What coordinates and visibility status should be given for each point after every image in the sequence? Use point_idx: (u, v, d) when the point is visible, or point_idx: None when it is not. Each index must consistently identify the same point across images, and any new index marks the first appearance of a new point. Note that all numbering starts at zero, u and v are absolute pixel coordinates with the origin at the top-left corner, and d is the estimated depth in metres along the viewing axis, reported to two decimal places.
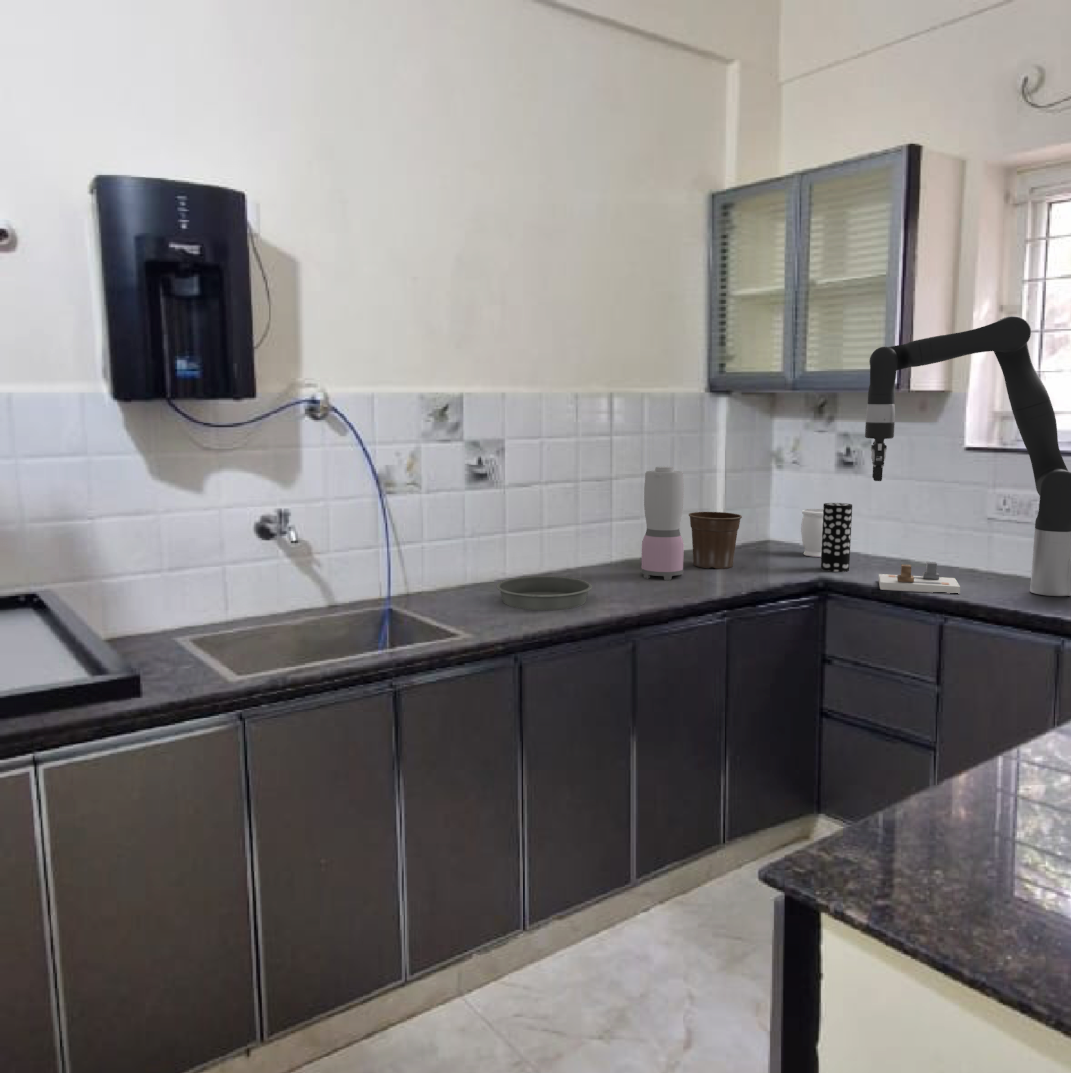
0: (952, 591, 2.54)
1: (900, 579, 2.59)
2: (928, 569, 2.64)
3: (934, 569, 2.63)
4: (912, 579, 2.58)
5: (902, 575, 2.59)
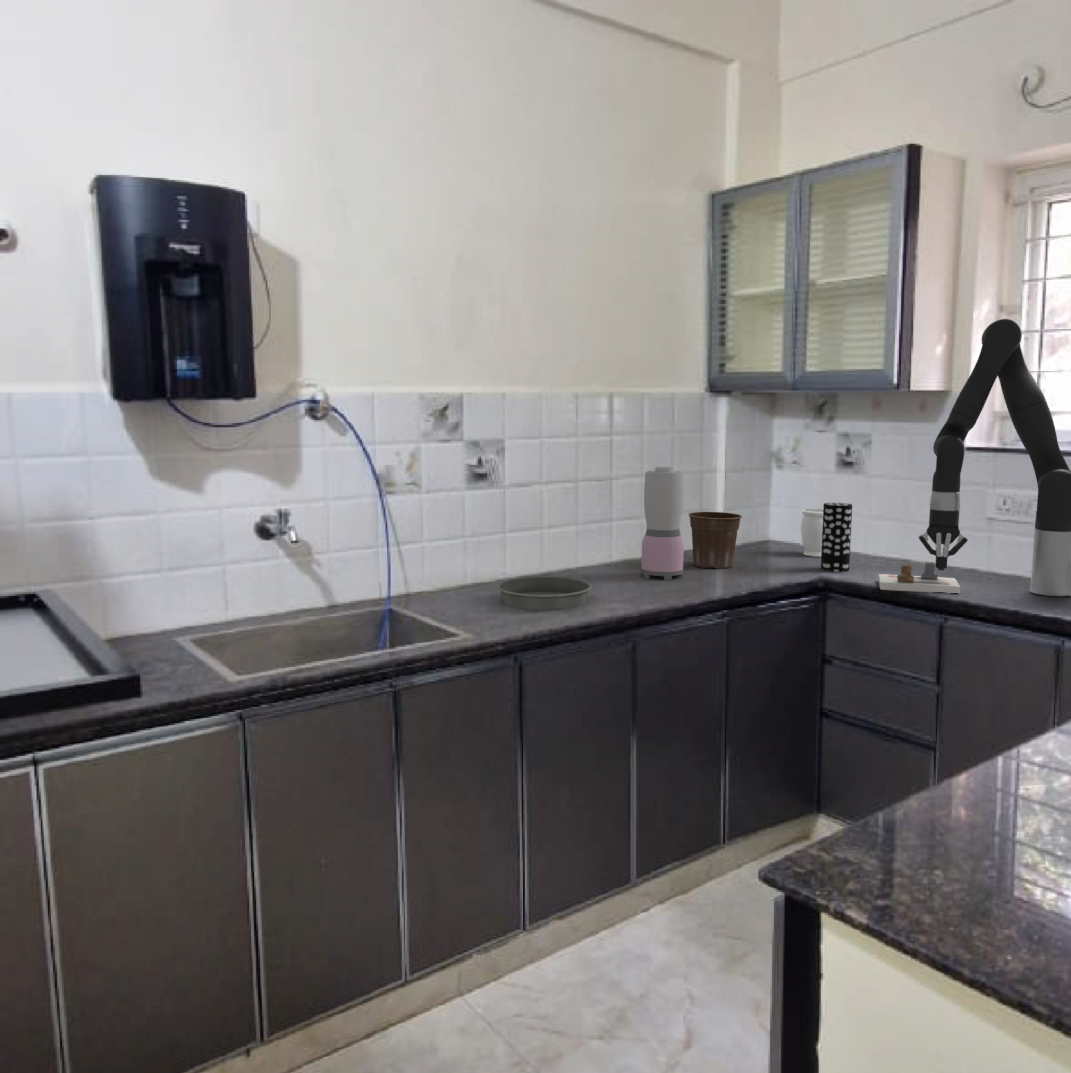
0: (952, 591, 2.54)
1: (900, 579, 2.59)
2: (926, 569, 2.64)
3: (932, 569, 2.63)
4: (912, 579, 2.58)
5: (902, 575, 2.59)
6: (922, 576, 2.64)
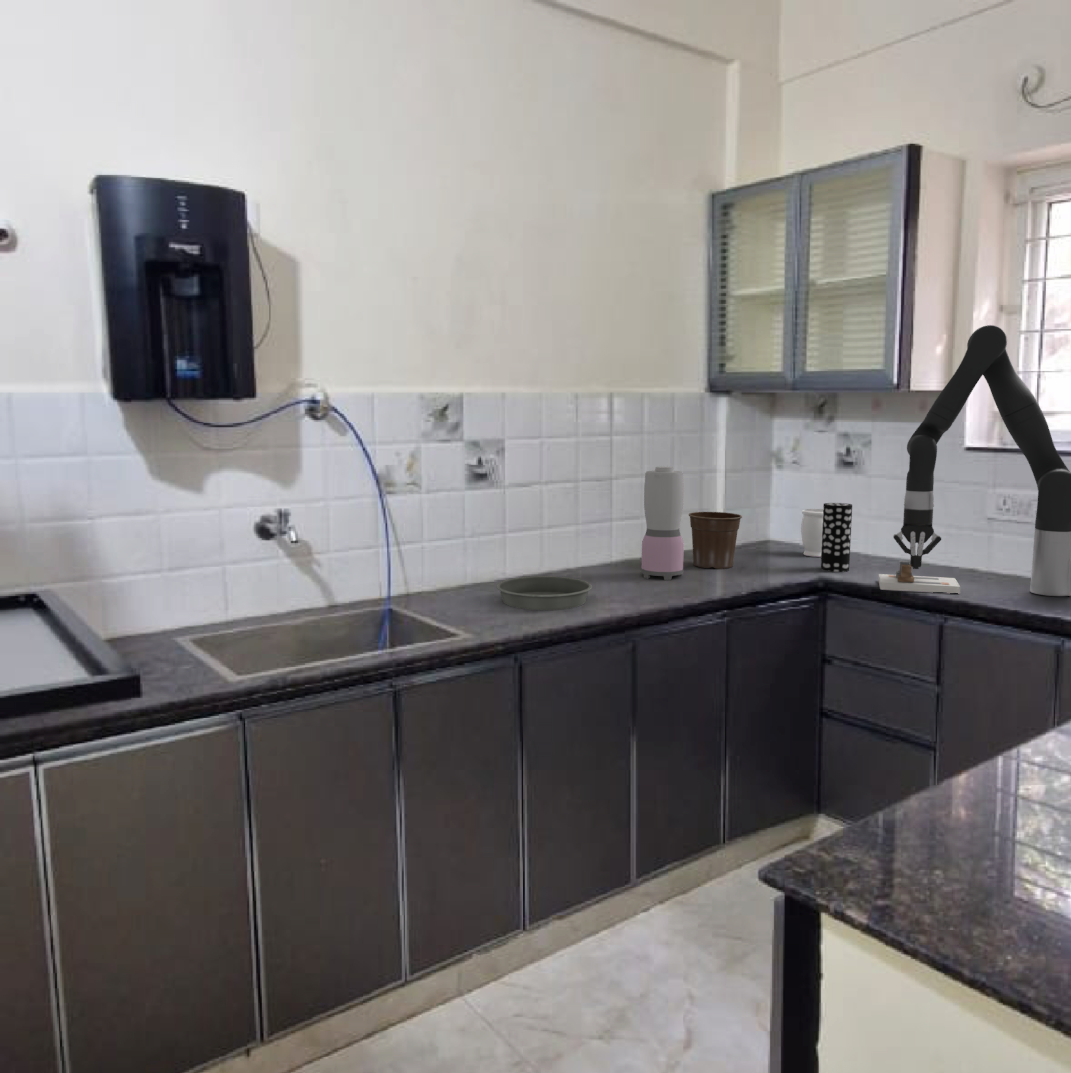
0: (952, 591, 2.54)
1: (900, 579, 2.59)
2: None
3: None
4: (912, 579, 2.58)
5: (902, 575, 2.59)
6: (897, 575, 2.66)
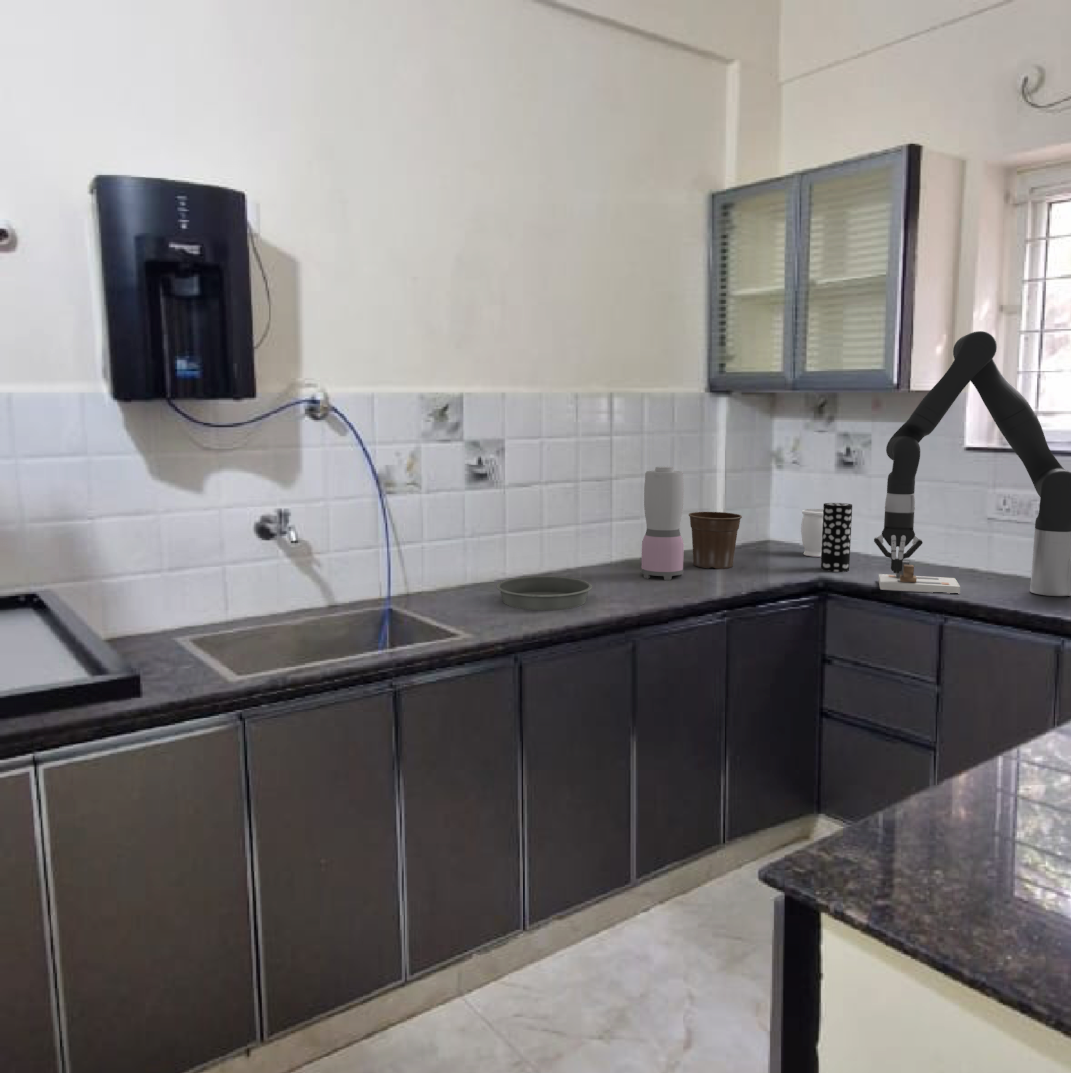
0: (952, 591, 2.54)
1: (903, 579, 2.59)
2: None
3: None
4: (915, 579, 2.58)
5: (905, 575, 2.59)
6: (897, 575, 2.66)
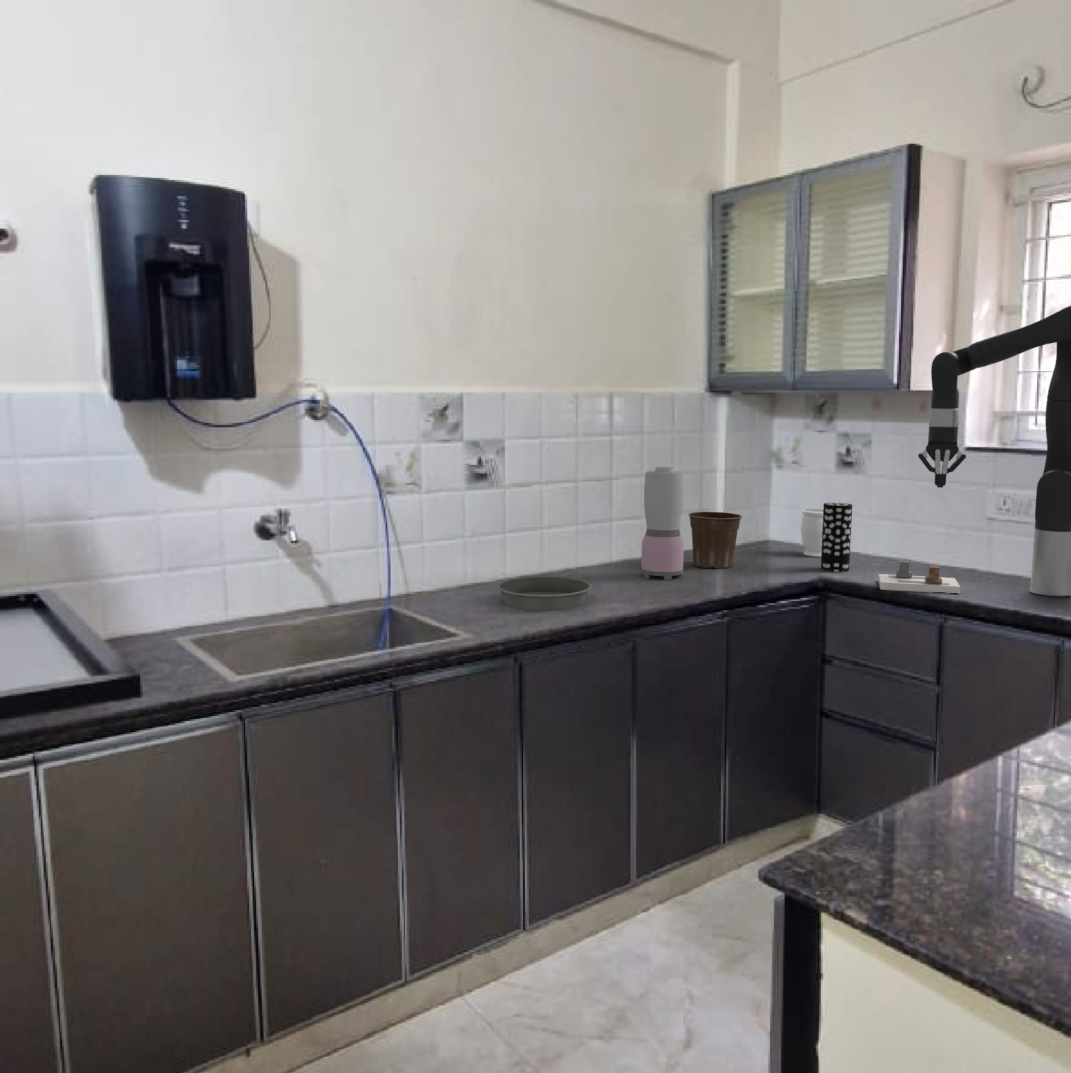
0: (952, 591, 2.54)
1: (928, 580, 2.57)
2: (901, 568, 2.66)
3: (907, 568, 2.65)
4: (940, 581, 2.56)
5: (930, 576, 2.57)
6: (897, 575, 2.66)
